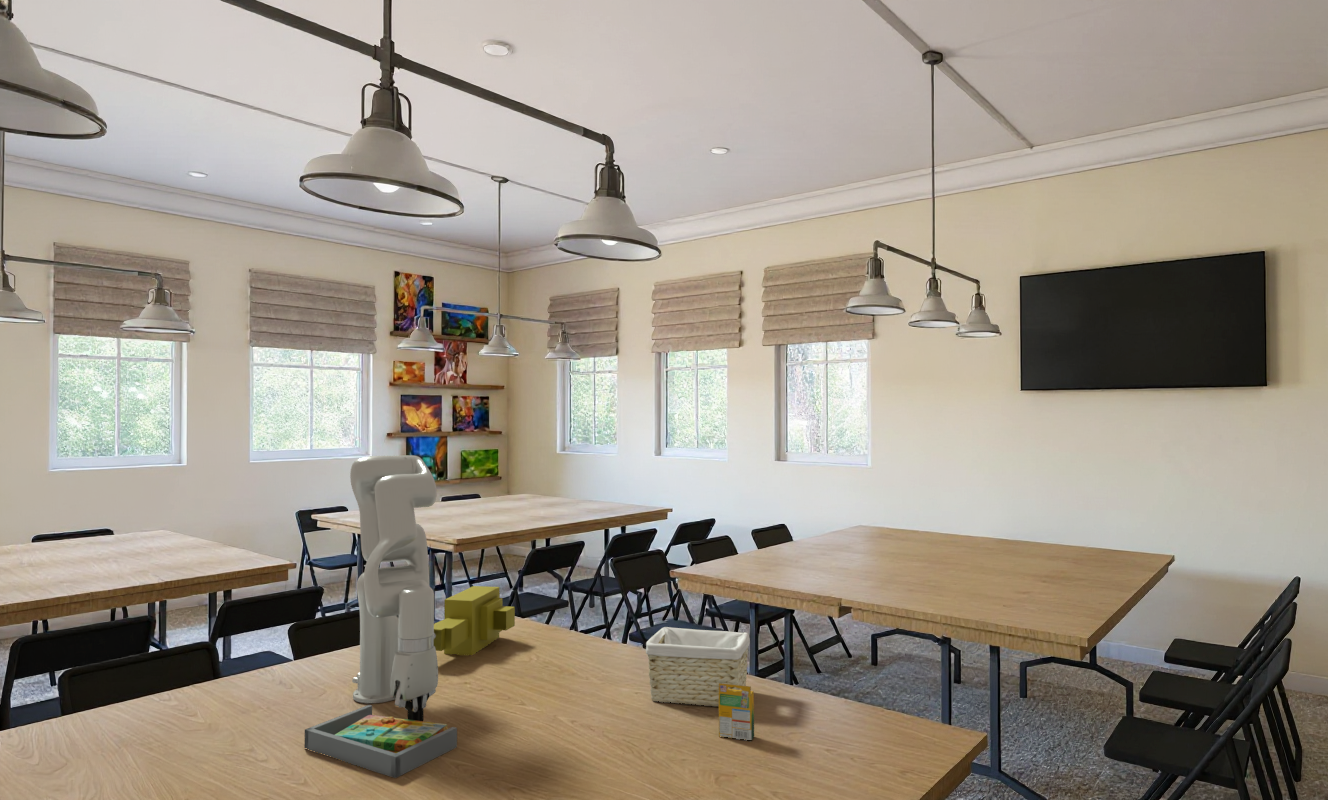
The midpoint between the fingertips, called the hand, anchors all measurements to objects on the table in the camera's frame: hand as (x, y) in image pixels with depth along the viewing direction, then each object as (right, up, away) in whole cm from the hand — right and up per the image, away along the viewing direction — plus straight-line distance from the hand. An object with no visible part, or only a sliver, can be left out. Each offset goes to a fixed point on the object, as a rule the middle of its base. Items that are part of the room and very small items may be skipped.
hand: (415, 727), depth 168 cm
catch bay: (-4, -1, -8) cm, 9 cm away
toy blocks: (-2, -4, +61) cm, 61 cm away
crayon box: (+71, -1, -3) cm, 71 cm away
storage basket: (+64, -2, +22) cm, 68 cm away
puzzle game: (-3, -1, -8) cm, 8 cm away
